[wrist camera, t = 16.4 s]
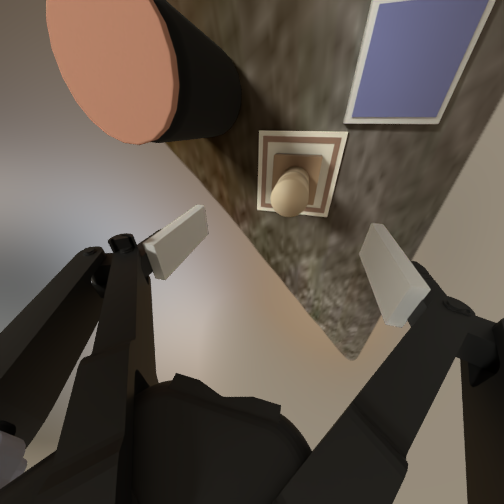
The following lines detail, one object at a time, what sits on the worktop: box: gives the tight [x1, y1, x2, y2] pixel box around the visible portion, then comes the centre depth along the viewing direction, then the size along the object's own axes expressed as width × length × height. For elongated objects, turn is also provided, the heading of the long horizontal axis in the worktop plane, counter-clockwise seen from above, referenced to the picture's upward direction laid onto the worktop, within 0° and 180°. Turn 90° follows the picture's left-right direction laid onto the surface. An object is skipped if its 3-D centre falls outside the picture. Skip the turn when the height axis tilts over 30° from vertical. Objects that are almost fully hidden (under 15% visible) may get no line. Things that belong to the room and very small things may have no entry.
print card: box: [257, 130, 348, 217], centre depth 32 cm, size 13×13×1 cm
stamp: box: [271, 153, 323, 217], centre depth 27 cm, size 7×7×12 cm
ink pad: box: [343, 0, 496, 124], centre depth 22 cm, size 11×11×2 cm
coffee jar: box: [46, 0, 241, 145], centre depth 22 cm, size 11×11×18 cm
